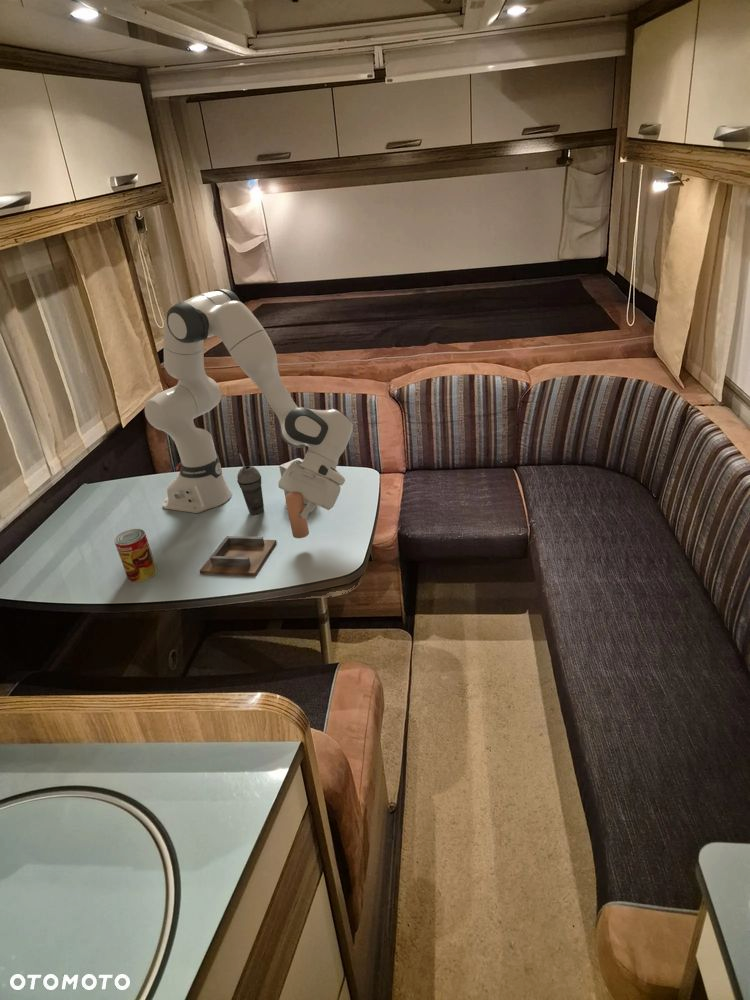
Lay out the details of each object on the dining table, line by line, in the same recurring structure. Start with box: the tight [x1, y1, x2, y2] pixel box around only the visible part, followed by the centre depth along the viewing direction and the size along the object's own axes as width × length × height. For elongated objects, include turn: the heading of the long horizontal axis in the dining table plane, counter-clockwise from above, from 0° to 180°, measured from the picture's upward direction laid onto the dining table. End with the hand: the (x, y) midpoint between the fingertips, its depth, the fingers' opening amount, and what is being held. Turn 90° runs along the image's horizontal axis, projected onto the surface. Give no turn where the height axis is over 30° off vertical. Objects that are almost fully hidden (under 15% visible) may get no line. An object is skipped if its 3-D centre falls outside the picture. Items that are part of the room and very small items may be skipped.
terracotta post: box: [284, 492, 310, 539], centre depth 172 cm, size 4×4×12 cm
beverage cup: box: [236, 453, 265, 517], centre depth 193 cm, size 7×7×20 cm
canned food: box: [114, 528, 158, 583], centre depth 172 cm, size 8×8×12 cm
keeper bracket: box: [199, 535, 277, 577], centre depth 175 cm, size 16×16×4 cm
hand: (295, 514), depth 171 cm, fingers closed on terracotta post, 4 cm apart
